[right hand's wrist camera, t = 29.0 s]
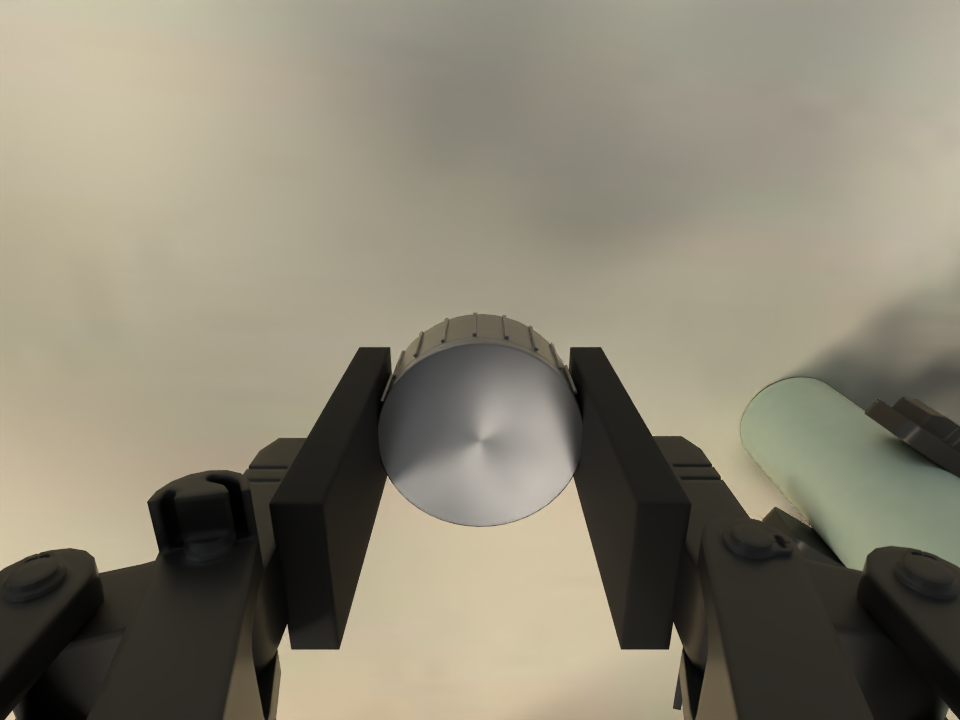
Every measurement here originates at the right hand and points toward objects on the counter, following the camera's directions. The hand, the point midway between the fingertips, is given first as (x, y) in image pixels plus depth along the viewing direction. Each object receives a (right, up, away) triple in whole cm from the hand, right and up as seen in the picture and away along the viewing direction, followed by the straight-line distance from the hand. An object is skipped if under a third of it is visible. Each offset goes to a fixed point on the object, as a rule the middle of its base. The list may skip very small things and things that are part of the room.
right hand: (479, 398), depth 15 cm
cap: (0, -1, -2) cm, 2 cm away
